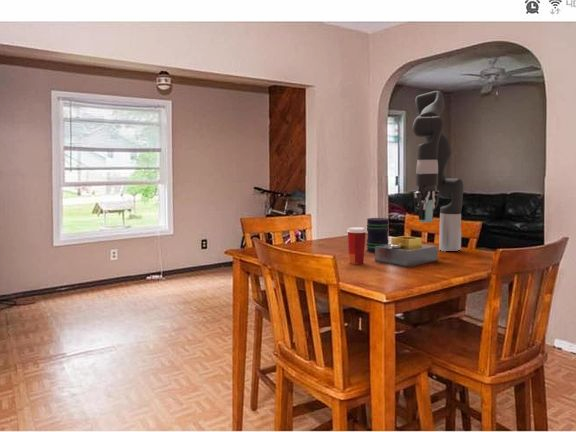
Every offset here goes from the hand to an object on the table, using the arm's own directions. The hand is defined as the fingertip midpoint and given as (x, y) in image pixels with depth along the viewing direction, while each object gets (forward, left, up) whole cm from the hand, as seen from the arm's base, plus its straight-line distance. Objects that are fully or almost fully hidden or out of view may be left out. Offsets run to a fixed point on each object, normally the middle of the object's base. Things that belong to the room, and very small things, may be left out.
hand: (426, 219), depth 171 cm
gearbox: (-10, -16, -19) cm, 27 cm away
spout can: (0, 0, -1) cm, 1 cm away
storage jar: (-19, -39, -19) cm, 47 cm away
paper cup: (+9, -26, -19) cm, 34 cm away
